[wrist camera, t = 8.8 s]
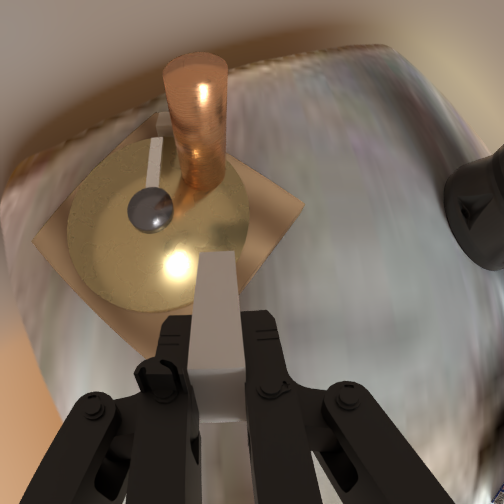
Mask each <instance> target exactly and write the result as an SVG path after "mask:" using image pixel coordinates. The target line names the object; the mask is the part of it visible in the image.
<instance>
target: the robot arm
mask: <svg viewBox="0 0 504 504" xmlns="http://www.w3.org/2000/svg"><path fill="white" fill-rule="evenodd" d="M444 203H445V209H446V214H447V218H448V221H449V224H450V226H451V229H452V231H453V233H454V235H455V237H456V239H457V241H458V242H459V244H460V246H461V247H462V249H463V250H464V251H465V253H466V254H467V255H468V256H469V257H470V258H471V259H472V260H473V261H474V262H475V263H476V264H478V265H479V266H480V267H482V268H484V269H487V270H490V271H497V270H500V269H503V268H504V144H503V146H501V147H500V148H499V149H498V150H497V151H496V152H495V153H494V154H493V155H491V156H488V157H485V158H482V159H479V160H476V161H473V162H470V163H468V164H465V165H463V166H461V167H459V168H458V169H457V170H456V171H455V172H454V173H453V174H452V175H451V176H450V177H449V178H448V180H447V182H446V185H445V190H444ZM134 376H135V378H136V381H137V383H138V386H139V388H140V390H141V392H139V393H137V394H135V395H132V396H129V397H125V398H120V399H115V400H113V399H112V398H111V396H109V395H107V394H106V393H104V392H90V393H87V394H85V395H83V396H82V397H80V398H79V400H78V401H77V402H76V403H75V405H74V406H73V408H72V410H71V411H70V413H69V415H68V416H67V418H66V419H65V421H64V423H63V425H62V426H61V428H60V430H59V431H58V433H57V435H56V436H55V438H54V440H53V442H52V443H51V445H50V447H49V449H48V451H47V452H46V454H45V456H44V458H43V459H42V461H41V463H40V465H39V467H38V469H37V470H36V472H35V474H34V476H33V478H32V480H31V482H30V483H29V485H28V487H27V489H26V491H25V493H24V495H23V497H22V499H21V501H20V503H19V504H122V503H123V501H124V498H125V496H126V504H202V485H201V435H200V431H199V419H200V423H214V422H238V421H247V430H248V446H249V454H250V463H251V473H252V482H253V491H254V500H255V504H323V503H322V499H321V494H320V490H319V486H318V481H317V477H316V473H315V468H314V464H313V460H312V455H311V451H313V453H314V454H315V456H316V458H317V460H318V461H319V463H320V465H321V467H322V468H323V470H324V472H325V474H326V475H327V477H328V479H329V480H330V482H331V484H332V486H333V487H334V489H335V491H336V492H337V494H338V496H339V497H340V499H341V501H342V502H343V504H455V503H454V501H453V500H452V499H451V498H450V496H449V495H448V494H447V492H446V491H445V490H444V488H443V487H442V486H441V484H440V483H439V482H438V480H437V479H436V478H435V477H434V475H433V474H432V473H431V471H430V470H429V469H428V467H427V466H426V465H425V464H424V462H423V461H422V460H421V458H420V457H419V456H418V454H417V453H416V452H415V451H414V449H413V448H412V447H411V445H410V444H409V443H408V441H407V440H406V439H405V438H404V436H403V435H402V434H401V432H400V431H399V430H398V429H397V427H396V426H395V425H394V423H393V422H392V421H391V419H390V418H389V417H388V416H387V414H386V413H385V412H384V410H383V409H382V408H381V407H380V405H379V404H378V403H377V401H376V400H375V399H374V398H373V396H372V395H371V394H370V392H369V391H368V390H367V389H366V388H365V387H363V386H362V385H360V384H358V383H356V382H351V381H342V382H337V383H335V384H333V385H332V386H330V387H329V388H328V390H319V389H311V388H307V387H303V386H301V385H299V384H297V383H296V382H295V381H293V380H292V378H291V377H290V376H289V374H288V372H287V368H286V364H285V360H284V355H283V351H282V347H281V343H280V340H279V334H278V331H277V326H276V321H275V318H274V317H273V316H272V315H271V314H270V313H269V312H268V311H267V310H259V311H243V312H240V307H239V296H238V285H237V275H236V263H235V252H234V251H217V252H200V253H199V261H198V269H197V277H196V286H195V294H194V303H193V313H192V315H169V316H168V317H167V319H166V320H165V321H164V322H163V324H162V325H161V330H160V334H159V339H158V346H157V349H156V354H155V357H151V358H149V359H146V360H144V361H143V362H142V363H140V364H139V365H138V366H137V368H136V370H135V372H134ZM126 493H127V495H126Z"/></svg>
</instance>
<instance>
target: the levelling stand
mask: <svg viewBox="0 0 504 504" xmlns="http://www.w3.org/2000/svg"><path fill="white" fill-rule="evenodd" d="M155 137H174V134H173V129H172V124H171V119H170V113H169V111H166V112H159V113H157V112H156V113H154V114H153V115H152V116H151V117H150V118H148V119H147V120H146V121H145V122H144V123H142V124H141V125H140V126H139V127H138V128H137V129H136V130H134V131H133V132H132V133H131V134H130V135H129V136H128V137H127V138H126V139H125V140H123V141H122V142H121V143H120V144H119V145H118V146H117V147H116V148H115V149H114V150H113V151H112V152H111V153H110V154H109V155H111V154H112V153H114V152H116V151H117V150H119V149H121V148H123V147H125V146H127V145H130V144H132V143H135V142H138V141H141V140H145V139H150V138H155ZM109 155H108V156H109ZM108 156H107V157H108ZM107 157H106V158H107ZM103 160H104V159H103ZM103 160H102V161H103ZM226 160H227V161H228V162H229V163H230V164H231V165H232V166H233V167H234V169H235V170H236V172H237V173H238V175H239V176H240V178H241V180H242V182H243V184H244V187H245V190H246V193H247V196H248V203H249V226H248V233H247V238H246V242H245V245H244V249H243V251H242V254H241V256H240V258H239V260H238V262H237V264H236V275H237V285H238V296H239V294H240V293H241V292H242V290H243V289H244V288H245V286H246V285H247V284H248V283H249V281H250V280H251V279H252V277H253V276H254V275H255V273H256V272H257V271H258V269H259V268H260V267H261V265H262V264H263V263H264V261H265V260H266V259H267V257H268V256H269V255H270V253H271V252H272V251H273V249H274V248H275V247H276V245H277V244H278V243H279V241H280V240H281V239H282V237H283V236H284V235H285V233H286V232H287V231H288V229H289V228H290V227H291V225H292V224H293V223H294V221H295V220H296V219H297V217H298V216H299V215H300V213H301V211H302V209H303V207H304V205H305V204H304V203H303V202H301V201H300V200H299V199H297V198H296V197H294V196H293V195H291V194H290V193H288V192H287V191H285V190H284V189H282V188H281V187H279V186H278V185H276V184H275V183H273V182H272V181H270V180H269V179H267V178H265V177H264V176H262V175H261V174H259V173H258V172H256V171H255V170H253V169H251V168H250V167H248V166H247V165H245V164H244V163H242V162H240V161H239V160H237V159H236V158H234V157H232V156H231V155H229V154H227V153H226ZM102 161H101V162H102ZM85 179H86V178H85ZM85 179H84V180H85ZM84 180H83V181H82V182H81V183H80V184H79V185H78V186H77V187H76V189H75V190H74V191H73V192H72V193H71V194H70V195H69V196H68V197H67V199H66V200H65V201H64V202H63V203H62V204H61V205H60V207H59V208H58V209H57V210H56V211H55V212H54V214H53V215H52V216H51V217H50V218H49V220H48V221H47V222H46V223H45V225H44V226H43V227H42V228H41V230H40V231H39V232H38V233H37V235H36V236H35V237H34V239H33V240H32V243H33V244H34V245H35V246H36V248H37V249H38V250H39V251H40V253H41V254H42V255H43V256H44V257H45V259H46V260H47V261H48V262H49V263H50V264H51V266H52V267H53V268H54V269H55V270H56V271H57V272H58V274H59V275H60V276H61V277H62V278H63V279H64V280H65V281H66V282H67V284H68V285H69V286H70V287H71V288H72V289H73V290H74V291H75V292H76V293H77V294H78V295H79V296H80V297H81V298H82V299H83V300H84V302H85V303H86V304H87V305H88V306H89V307H90V308H91V309H92V310H93V311H94V312H95V313H96V314H97V315H98V316H99V317H100V318H101V319H102V320H104V321H105V322H106V323H107V324H108V325H109V326H110V327H111V328H112V329H113V330H114V331H115V332H116V333H117V334H118V335H119V336H121V337H122V338H123V339H124V340H125V341H126V342H127V343H128V344H129V345H130V346H132V347H133V348H134V349H135V350H136V351H137V352H138V353H140V354H141V355H142V356H143V357H144V358H145V359H149V358H151V357H155V354H156V349H157V346H158V339H159V334H160V330H161V325H162V324H163V322H164V321H165V320H166V319H167V317H168V316H169V315H192V313H193V304H192V305H189V306H187V307H184V308H182V309H178V310H174V311H170V312H164V313H140V312H135V311H130V310H127V309H124V308H121V307H119V306H116V305H114V304H112V303H110V302H109V301H107V300H105V299H103V298H101V297H100V296H99V295H97V294H96V293H95V292H93V291H92V290H91V289H90V288H89V287H88V286H87V285H86V284H85V282H84V281H83V280H82V278H81V277H80V275H79V274H78V272H77V270H76V268H75V266H74V264H73V262H72V259H71V256H70V253H69V248H68V242H67V225H68V217H69V213H70V209H71V206H72V203H73V200H74V198H75V196H76V194H77V192H78V190H79V188H80V186H81V185H82V183H83V182H84Z"/></svg>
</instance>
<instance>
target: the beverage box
mask: <svg viewBox="0 0 504 504" xmlns="http://www.w3.org/2000/svg"><path fill="white" fill-rule="evenodd" d="M492 503H494V504H504V483H503V485H502V487H501V488H500V490H499V491H498V493H497V494H496V496H495V497H494V499H493V500H492Z"/></svg>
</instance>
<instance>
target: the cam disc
mask: <svg viewBox="0 0 504 504" xmlns="http://www.w3.org/2000/svg"><path fill="white" fill-rule="evenodd" d="M227 76H228V66H227V64H226V62H225V61H224V60H223V59H222V58H220V57H219V56H217V55H214V54H211V53H204V52H195V53H188V54H184V55H181V56H179V57H176V58H175V59H173V60H171V61H170V62H169V63H168V64H167V65H166V66H165V68H164V70H163V80H164V85H165V91H166V97H167V102H168V108H169V113H170V119H171V124H172V129H173V134H174V137H155V138H150V139H145V140H141V141H138V142H135V143H132V144H130V145H127V146H125V147H123V148H121V149H119V150H117V151H116V152H114V153H112V154H111V155H109V156H108V157H107V158H105V159H104V160H103V161H102V162H100V163H99V164H98V165H97V166H96V167H95V168H94V169H93V170H92V171H91V172H90V174H89V175H88V176H87V177H86V179H85V180H84V182H83V183H82V185H81V186H80V188H79V190H78V192H77V194H76V196H75V198H74V200H73V203H72V206H71V209H70V213H69V217H68V225H67V242H68V248H69V253H70V256H71V259H72V262H73V264H74V266H75V268H76V270H77V272H78V274H79V275H80V277H81V278H82V280H83V281H84V282H85V284H86V285H87V286H88V287H89V288H90V289H91V290H92V291H93V292H95V293H96V294H97V295H99V296H100V297H101V298H103V299H105V300H107V301H109V302H110V303H112V304H114V305H116V306H119V307H121V308H124V309H127V310H130V311H135V312H140V313H164V312H170V311H174V310H178V309H182V308H184V307H187V306H189V305H192V304H193V303H194V294H195V286H196V277H197V269H198V261H199V253H200V252H217V251H234V252H235V263H236V264H237V262H238V260H239V258H240V256H241V254H242V251H243V249H244V245H245V242H246V238H247V233H248V226H249V203H248V196H247V193H246V190H245V187H244V184H243V182H242V180H241V178H240V176H239V175H238V173H237V172H236V170H235V169H234V167H233V166H232V165H231V164H230V163H229V162H228V161H227V160H226V112H227Z"/></svg>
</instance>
